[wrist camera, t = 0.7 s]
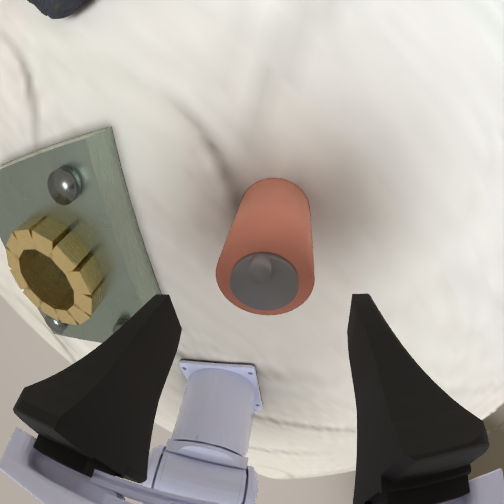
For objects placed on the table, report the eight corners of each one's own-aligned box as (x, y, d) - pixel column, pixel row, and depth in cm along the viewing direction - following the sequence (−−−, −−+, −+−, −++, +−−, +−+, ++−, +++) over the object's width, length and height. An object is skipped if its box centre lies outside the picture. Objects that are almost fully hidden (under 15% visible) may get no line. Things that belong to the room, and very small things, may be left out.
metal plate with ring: (173, 326, 27) (156, 369, 23) (66, 315, 29) (45, 346, 25) (111, 126, 17) (64, 148, 13) (0, 166, 20) (-38, 189, 15)
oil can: (310, 239, 20) (314, 333, 13) (245, 241, 21) (219, 332, 14) (308, 176, 18) (316, 252, 11) (236, 180, 18) (199, 255, 12)
